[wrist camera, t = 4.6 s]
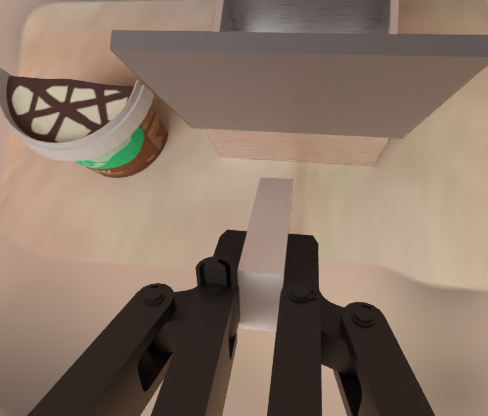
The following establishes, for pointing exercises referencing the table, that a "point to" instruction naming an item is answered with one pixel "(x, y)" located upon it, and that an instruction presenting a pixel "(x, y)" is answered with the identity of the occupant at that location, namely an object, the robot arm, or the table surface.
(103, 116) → the food container
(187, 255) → the table surface
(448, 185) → the table surface
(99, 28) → the table surface
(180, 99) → the pot lid
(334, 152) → the rectangular cooking pot
